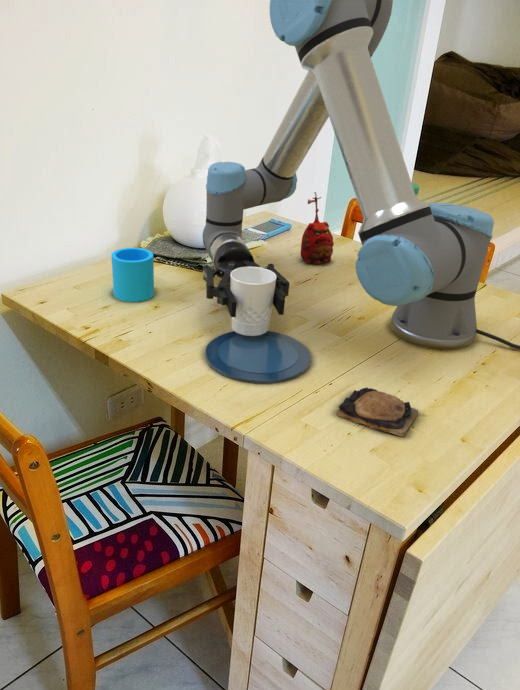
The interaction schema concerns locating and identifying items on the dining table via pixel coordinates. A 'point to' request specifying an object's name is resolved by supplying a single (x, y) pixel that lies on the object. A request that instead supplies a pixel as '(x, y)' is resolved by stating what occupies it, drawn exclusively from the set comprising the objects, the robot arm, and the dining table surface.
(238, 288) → the white cup
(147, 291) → the mug
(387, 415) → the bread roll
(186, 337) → the dining table surface
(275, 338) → the plate
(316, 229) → the red clay folk toy
